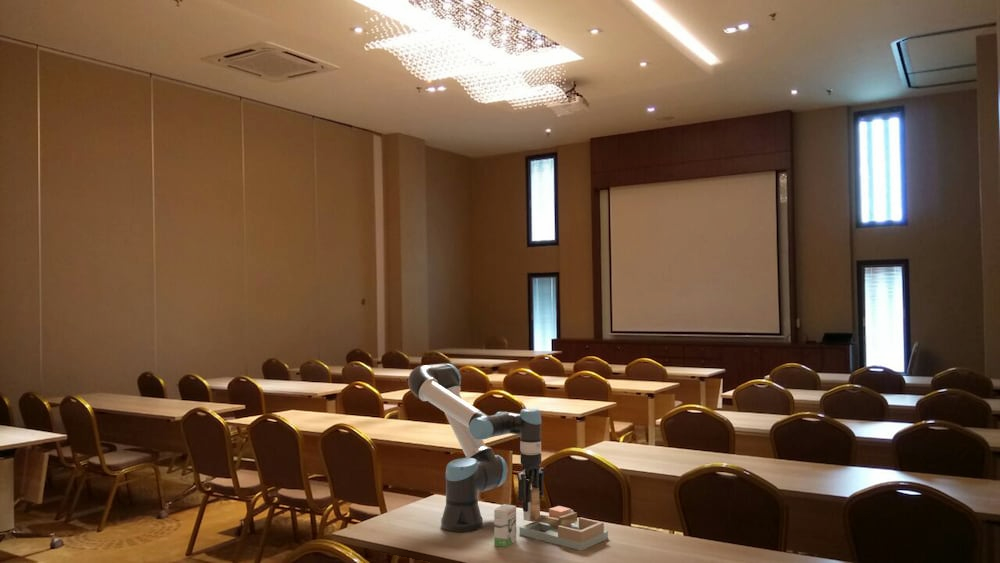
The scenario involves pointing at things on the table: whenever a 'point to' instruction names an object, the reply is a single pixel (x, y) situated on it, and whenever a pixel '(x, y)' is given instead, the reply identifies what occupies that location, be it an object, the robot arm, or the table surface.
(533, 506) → the crook
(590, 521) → the grey sorting tray
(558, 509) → the block
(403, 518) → the table surface
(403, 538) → the table surface
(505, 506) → the ink box
